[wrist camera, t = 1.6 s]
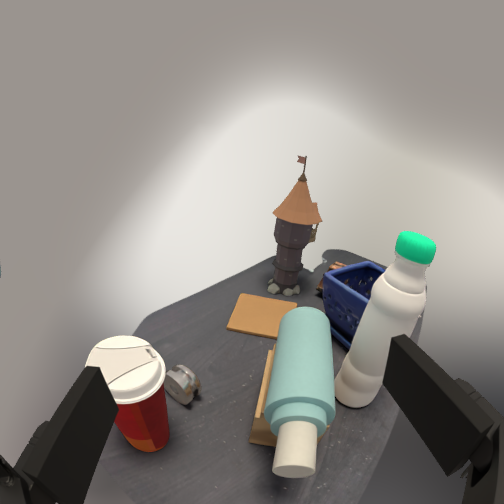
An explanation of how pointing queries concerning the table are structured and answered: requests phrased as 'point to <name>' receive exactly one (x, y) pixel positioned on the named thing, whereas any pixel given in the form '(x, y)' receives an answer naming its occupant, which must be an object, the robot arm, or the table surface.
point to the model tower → (293, 236)
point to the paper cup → (135, 389)
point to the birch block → (260, 425)
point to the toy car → (332, 267)
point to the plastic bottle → (300, 390)
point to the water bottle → (385, 319)
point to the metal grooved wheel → (182, 384)
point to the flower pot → (348, 297)
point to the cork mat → (258, 315)
